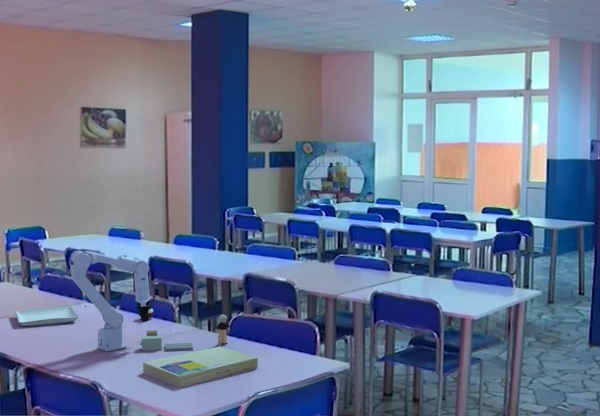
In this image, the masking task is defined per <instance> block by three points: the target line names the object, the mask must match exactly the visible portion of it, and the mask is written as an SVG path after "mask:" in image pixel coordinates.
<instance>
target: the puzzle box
mask: <svg viewBox="0 0 600 416" xmlns="http://www.w3.org/2000/svg"><path fill="white" fill-rule="evenodd" d="M142 365H143V366H142V371H143V374H145V375H147V376H149V377H153V378H154V379H157V380H160V381H161V382H162V381H163V382H165V383H167V384H169V385H173V386H175V387H176V388H177V387H178V388H183V387H187V386H190V385H194V384H199V383H202V382H203V383H204V382H207V381H211V380H215V379H219V378H222V377H227V376H230V375H231V376H232V375H235V374H236V375H237V374H238V373H243V372H247V371H251V370H254V369H258V367H259V365H258V357H256V356H252V355H249V354H246V353H243V352H240V351H237V350H234V349H230V348H226V347H223V346H215V347H211V348H206V349H201V350H197V351H191V352H187V353H183V354H178V355H177V354H176V355H172V356H167V357H162V358H158V359H152V360H148V361H144V362H143V363H142Z"/></svg>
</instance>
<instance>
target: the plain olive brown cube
mask: <svg viewBox="0 0 600 416" xmlns="http://www.w3.org/2000/svg"><path fill="white" fill-rule="evenodd" d="M146 336H158V330H146Z"/></svg>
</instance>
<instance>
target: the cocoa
mask: <svg viewBox="0 0 600 416" xmlns="http://www.w3.org/2000/svg"><path fill="white" fill-rule="evenodd" d="M152 298H153V299H151V301H150V304H149V305H150V308H149V311H148V319H149V318H151V319H152V318H153V315H154V309H153V305H154V302H155V300H156V295H153V296H152ZM138 316H139V317H140V313H139V312H138Z"/></svg>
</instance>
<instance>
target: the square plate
mask: <svg viewBox="0 0 600 416" xmlns="http://www.w3.org/2000/svg"><path fill="white" fill-rule="evenodd" d="M14 313H15V316H16V318H17V322H18V324H19V325H20V326H22V327H35V325H37V326H47V325H48V326H49V325H57V324H59V323H60V324H68V323H74V322H76V321H77V320H78V319H79V318H80V315H78V313H77V311H75V309H74V308H73V307H72V306H53V307H51V306H50V307H39V308H29V309H20V310H14ZM67 322H68V323H67Z"/></svg>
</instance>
